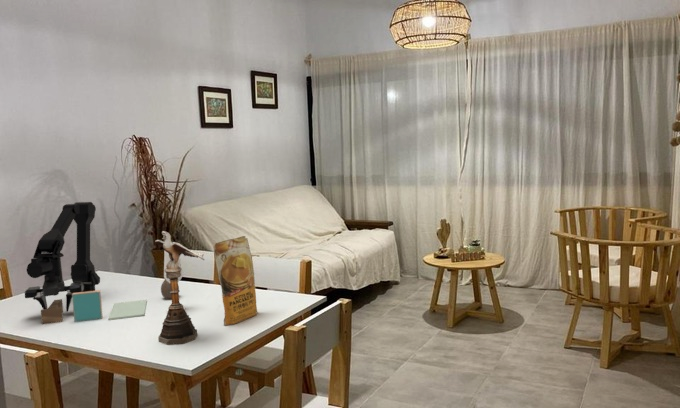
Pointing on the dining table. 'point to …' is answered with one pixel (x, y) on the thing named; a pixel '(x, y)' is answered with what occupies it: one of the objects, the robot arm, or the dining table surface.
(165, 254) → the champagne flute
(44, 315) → the brown wooden block
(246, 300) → the pancake mix bag
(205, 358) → the dining table surface
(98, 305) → the tile
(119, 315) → the rest board
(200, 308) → the dining table surface
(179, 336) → the bird statue
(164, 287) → the vase
